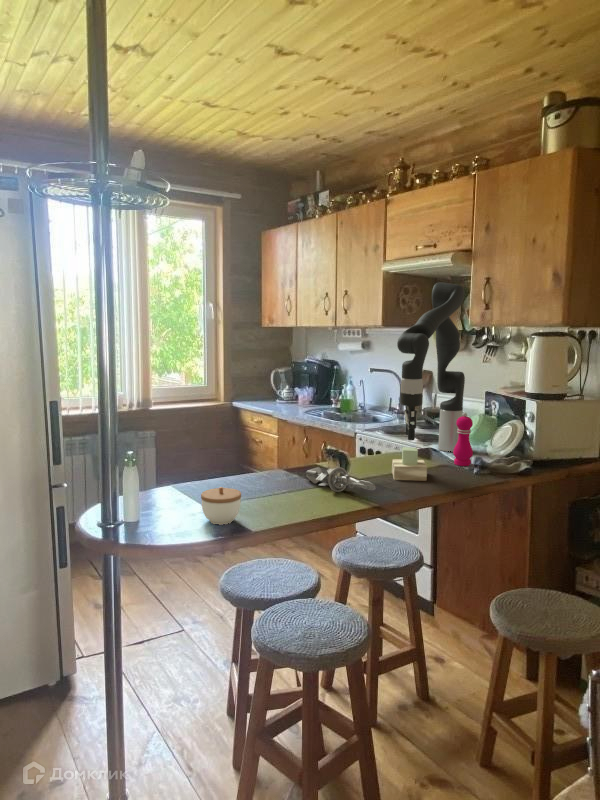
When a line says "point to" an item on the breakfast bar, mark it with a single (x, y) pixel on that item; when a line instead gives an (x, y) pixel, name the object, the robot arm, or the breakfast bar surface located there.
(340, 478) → the spaceship
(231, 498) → the lidded jar
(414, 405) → the robot arm
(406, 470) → the birch block
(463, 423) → the pepper mill
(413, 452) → the green cube
